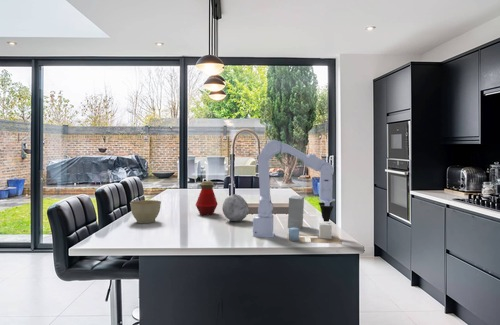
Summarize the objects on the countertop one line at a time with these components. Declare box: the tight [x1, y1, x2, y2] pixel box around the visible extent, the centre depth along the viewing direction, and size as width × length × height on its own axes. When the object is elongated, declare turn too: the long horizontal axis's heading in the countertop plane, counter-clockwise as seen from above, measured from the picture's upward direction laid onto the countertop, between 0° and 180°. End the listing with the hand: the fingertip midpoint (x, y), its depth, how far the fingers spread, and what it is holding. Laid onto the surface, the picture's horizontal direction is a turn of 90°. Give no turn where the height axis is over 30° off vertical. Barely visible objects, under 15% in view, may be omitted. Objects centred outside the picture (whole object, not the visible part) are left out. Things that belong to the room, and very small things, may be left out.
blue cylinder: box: [288, 228, 300, 243], centre depth 155 cm, size 4×4×5 cm
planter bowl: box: [129, 199, 162, 224], centre depth 195 cm, size 16×16×11 cm
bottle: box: [195, 180, 218, 216], centre depth 219 cm, size 16×14×20 cm
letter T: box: [299, 236, 318, 243], centre depth 158 cm, size 9×10×1 cm
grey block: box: [318, 222, 333, 239], centre depth 160 cm, size 5×5×6 cm
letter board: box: [286, 233, 342, 244], centre depth 158 cm, size 23×14×1 cm, turn 83°
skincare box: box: [287, 195, 305, 230], centre depth 182 cm, size 8×7×16 cm
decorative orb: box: [221, 193, 250, 222], centre depth 198 cm, size 15×14×15 cm
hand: (325, 219), depth 160 cm, fingers open, 7 cm apart
